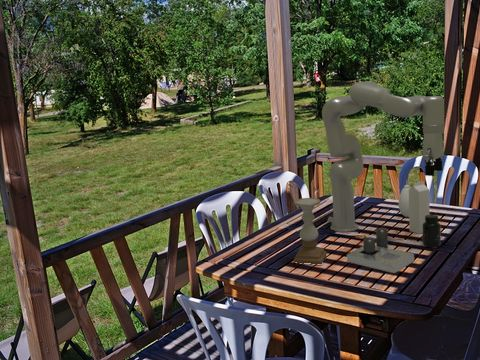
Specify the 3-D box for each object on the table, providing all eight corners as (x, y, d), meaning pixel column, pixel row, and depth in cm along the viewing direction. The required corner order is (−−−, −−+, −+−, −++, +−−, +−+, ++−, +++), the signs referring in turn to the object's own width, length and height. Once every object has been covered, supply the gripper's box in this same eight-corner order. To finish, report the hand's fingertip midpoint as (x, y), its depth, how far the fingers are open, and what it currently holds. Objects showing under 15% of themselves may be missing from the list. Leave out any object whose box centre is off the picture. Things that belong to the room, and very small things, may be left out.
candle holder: (321, 265, 198) (318, 204, 193) (293, 264, 202) (289, 204, 197) (327, 255, 208) (324, 197, 203) (300, 254, 212) (296, 197, 207)
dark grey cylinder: (374, 248, 211) (373, 230, 210) (380, 245, 214) (379, 227, 213) (384, 251, 208) (383, 231, 206) (389, 247, 211) (389, 228, 209)
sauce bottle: (398, 218, 248) (397, 181, 244) (399, 214, 255) (398, 178, 251) (415, 219, 245) (415, 181, 241) (416, 214, 252) (416, 178, 248)
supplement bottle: (442, 247, 206) (441, 218, 204) (423, 247, 208) (423, 218, 206) (439, 241, 213) (439, 213, 211) (421, 242, 215) (421, 213, 212)
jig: (347, 261, 200) (346, 241, 198) (367, 251, 209) (366, 232, 208) (394, 273, 186) (393, 252, 184) (413, 261, 195) (413, 240, 193)
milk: (409, 231, 229) (408, 182, 225) (419, 228, 232) (418, 179, 227) (419, 234, 224) (418, 184, 219) (430, 231, 226) (429, 181, 222)
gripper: (431, 126, 208) (431, 168, 211) (415, 132, 195) (416, 177, 198) (450, 126, 203) (450, 169, 207) (436, 132, 190) (436, 178, 193)
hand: (433, 173), depth 202 cm, fingers open, 9 cm apart
